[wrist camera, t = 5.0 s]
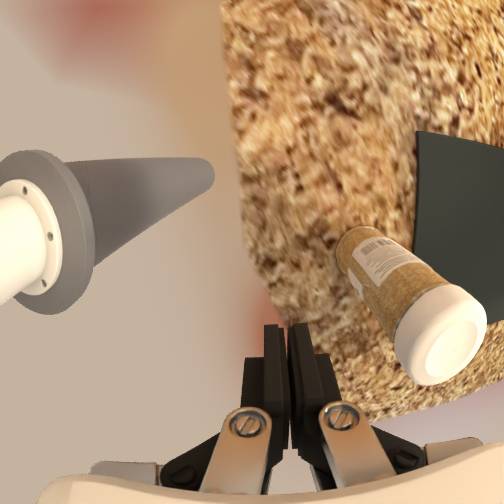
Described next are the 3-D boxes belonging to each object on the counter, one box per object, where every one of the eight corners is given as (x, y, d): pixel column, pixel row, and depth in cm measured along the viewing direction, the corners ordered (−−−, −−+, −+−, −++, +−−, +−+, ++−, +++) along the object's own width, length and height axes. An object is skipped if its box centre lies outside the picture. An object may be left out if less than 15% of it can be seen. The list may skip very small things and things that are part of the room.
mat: (395, 343, 25) (396, 345, 24) (415, 131, 19) (418, 130, 18) (504, 317, 24) (506, 318, 24) (529, 157, 18) (532, 157, 17)
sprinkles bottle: (332, 277, 23) (395, 397, 10) (337, 222, 21) (427, 308, 8) (382, 276, 22) (468, 378, 10) (389, 224, 21) (502, 298, 8)
